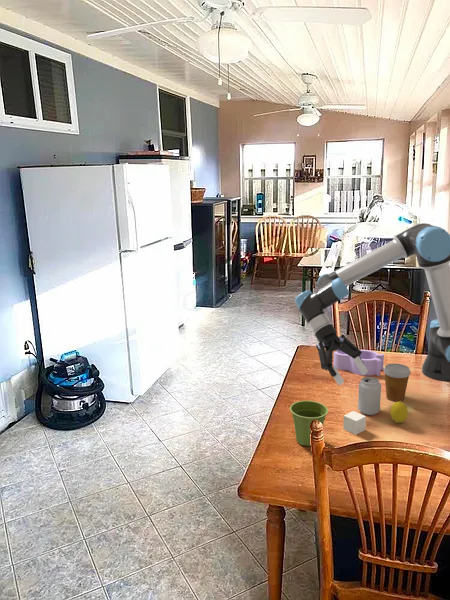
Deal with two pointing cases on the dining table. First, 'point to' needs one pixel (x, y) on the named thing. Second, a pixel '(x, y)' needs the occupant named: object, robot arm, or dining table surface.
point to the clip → (369, 358)
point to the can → (369, 395)
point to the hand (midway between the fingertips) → (353, 378)
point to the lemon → (399, 412)
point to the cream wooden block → (354, 422)
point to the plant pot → (306, 418)
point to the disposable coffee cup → (396, 381)
